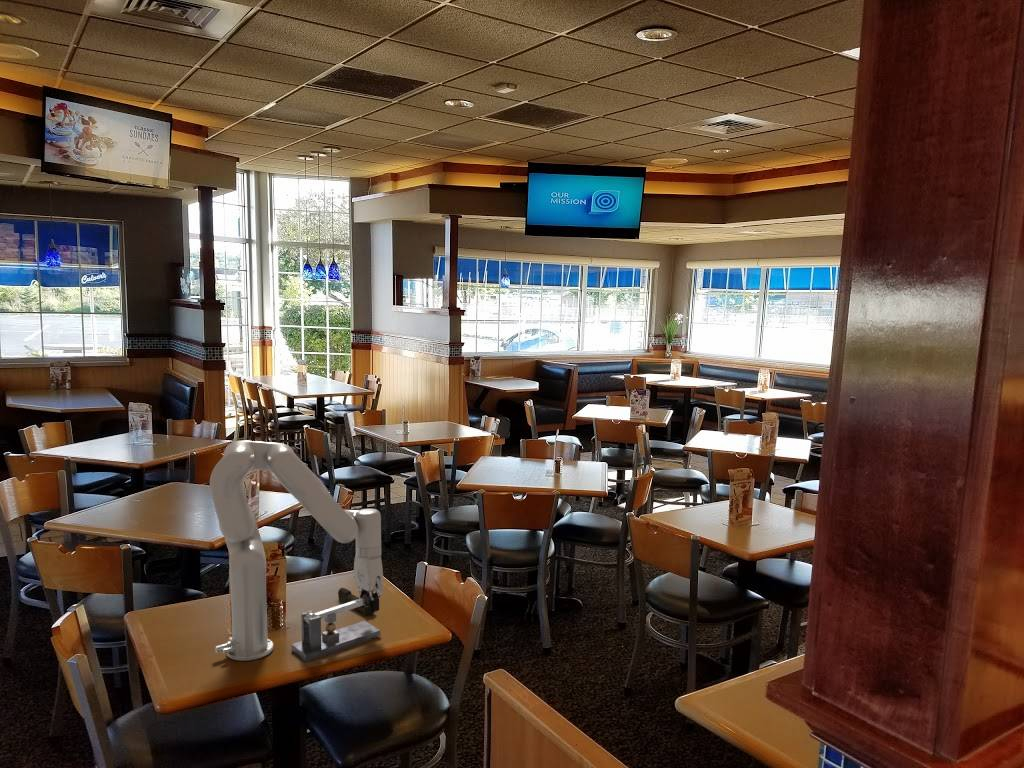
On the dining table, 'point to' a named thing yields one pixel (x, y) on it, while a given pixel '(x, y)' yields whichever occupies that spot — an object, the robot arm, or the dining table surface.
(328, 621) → the lever
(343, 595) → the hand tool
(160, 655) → the dining table surface
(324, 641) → the nutcracker bench
